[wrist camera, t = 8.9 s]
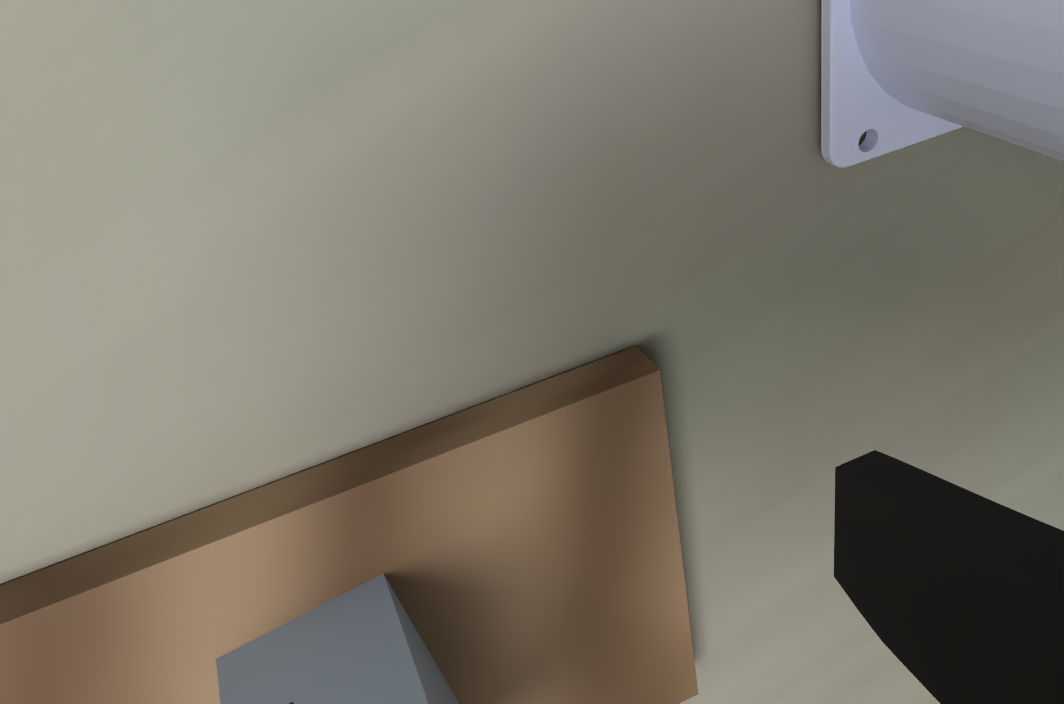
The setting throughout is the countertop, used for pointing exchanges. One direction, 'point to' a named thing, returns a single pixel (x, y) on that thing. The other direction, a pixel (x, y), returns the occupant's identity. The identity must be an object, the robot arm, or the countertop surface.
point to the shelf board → (404, 561)
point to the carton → (338, 657)
